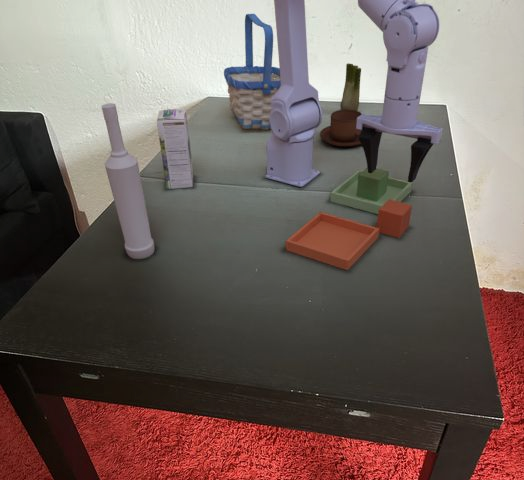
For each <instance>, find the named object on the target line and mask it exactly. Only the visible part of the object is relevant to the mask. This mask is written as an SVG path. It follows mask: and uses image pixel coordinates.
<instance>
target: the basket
mask: <svg viewBox="0 0 524 480" xmlns="http://www.w3.org/2000/svg"><path fill="white" fill-rule="evenodd" d="M253 25H256V26H258V27H260V28H262V29H263V32H264V50H263V51H264V53H263V66H259V65H255V66H254V45H253V44H254V43H253V41H254V37H253ZM244 47H245V48H244V49H245V54H244V55H245V65H243V66H230V67H226V68H224V70H223V76H224V80H225V82H226V85H227V94H229V95H228V96H229V97H228V99H229V102H230V103H229V106H230V109H231V113H232V114H233V115H234V117H236V121H237V123H238V124H240V125H241V127H242V129H243V130H249V129H260V130H263V131H264V130H265V131H269V130H272V129H271V126H270V114H271V99H272V97H273V96H274V95H275V93H276V92H277V91H278V89H279V88H280V86H281V79H280V67H276V66H273V52H274V51H273V50H274V31H273V27H272V25H271V24H267V23H265V22H263V21H262V20H261V19H260V18H259V17H258V16H257V15H256V14H255V13H246V14H245V16H244Z"/></svg>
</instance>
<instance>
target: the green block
mask: <svg viewBox="0 0 524 480" xmlns="http://www.w3.org/2000/svg"><path fill="white" fill-rule="evenodd" d="M362 171H363V172H361V173H360V174H359V175H358V185H357V196H358V197H362V198H366V199H370V200H373V201H378V200H379V199H380V198H381V197H382V196H383V195H384V194H385V193H386V190H387V182H388V177H389V174H390V171H389V170H385V169H381V168H377V167H376V170H375V171H373V172H372V173H368V167H367V166H366V168H365V169H364V170H362Z"/></svg>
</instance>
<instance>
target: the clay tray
mask: <svg viewBox="0 0 524 480" xmlns="http://www.w3.org/2000/svg"><path fill="white" fill-rule="evenodd" d="M376 227H377V226H372V225H369V224H366V223H362V222H359V221H355V220H352V219H348V218H344V217H341V216H338V215H334V214H330V213H327V212H323V211H319V212H318V213H316V214H315V216H313V217H312V218H311V219H310V220H309V221H307V222H306V223H304V224H303V226H301V227H300V228H298V230H297V231H295V232H294V233H293V234H292V235H291V236H290V237H288V238H287V239H286V240H285V251H286V252H287V251H288V252H291V253H294V254H297V255H299V256H303V257H306V258H309V259H312V260H315V261H318V262H321V263H324V264H327V265H330V266H333V267H336V268H339V269H342V270H345V271H349V270H350V269H351V267H352V266H353V265H354V264H355V263H356V262H357V261H358V260H359V259H360V258H361V257H362V256H363V255H364V253H366V252H367V250H368V249H369V248H370V247H371V246H372V245H374V243H375V242H376V241H377V240H378V239H379V237H380V233H379V230H380V228H376Z"/></svg>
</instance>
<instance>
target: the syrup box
mask: <svg viewBox="0 0 524 480" xmlns="http://www.w3.org/2000/svg"><path fill="white" fill-rule="evenodd" d="M187 115H188V113H187V109H182V108H181V109H180V108H170V109H161V110H158V115H157V117H156V118H157V119H156V127H157V132H158V139H159V140H158V141H159V147H160V152H161V153H160V154H161V160H162V166H163V167H162V168H163V173H164V179H165V187H166V189H167V190H174V189H175V190H176V189H186V188H188V189H189V188H193V187H194V167H193V158H192V151H191V150H192V149H191V141H190V133H189V131H190V130H189V124H188V116H187Z"/></svg>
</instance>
